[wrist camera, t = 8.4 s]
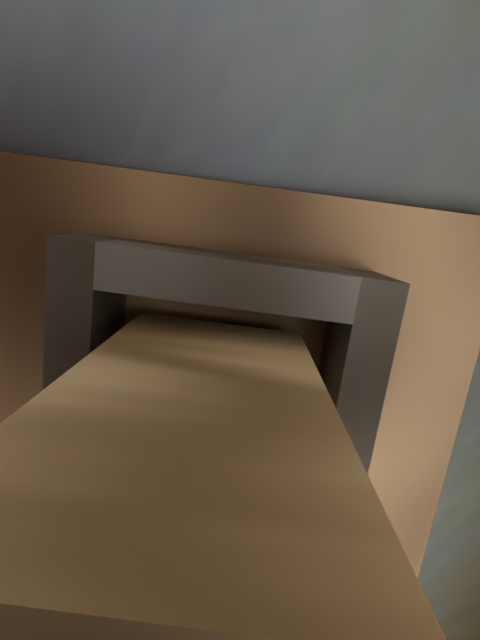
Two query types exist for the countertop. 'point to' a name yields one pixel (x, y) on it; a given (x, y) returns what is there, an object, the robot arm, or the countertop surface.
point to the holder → (254, 297)
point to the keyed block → (196, 500)
